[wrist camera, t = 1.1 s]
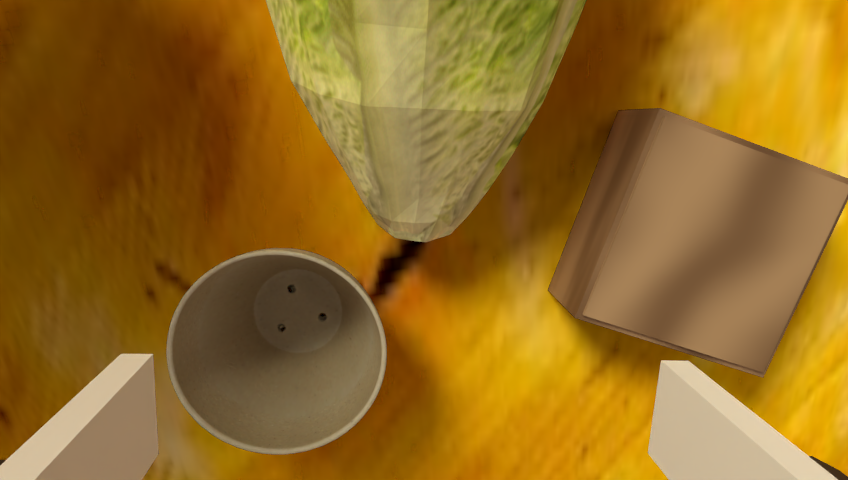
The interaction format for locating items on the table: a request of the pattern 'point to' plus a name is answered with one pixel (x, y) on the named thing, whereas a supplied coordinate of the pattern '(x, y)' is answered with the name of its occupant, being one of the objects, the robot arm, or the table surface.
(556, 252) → the table surface
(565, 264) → the walnut block
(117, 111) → the table surface
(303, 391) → the flower pot
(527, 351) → the table surface
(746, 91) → the table surface
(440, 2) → the lettuce
